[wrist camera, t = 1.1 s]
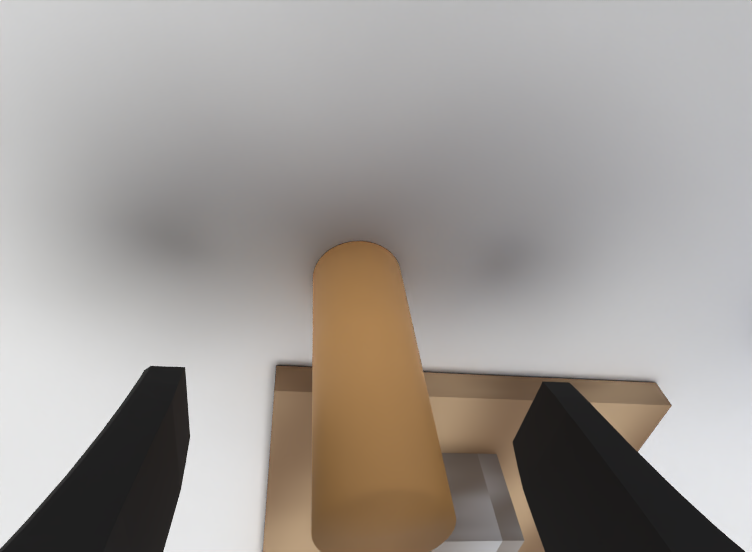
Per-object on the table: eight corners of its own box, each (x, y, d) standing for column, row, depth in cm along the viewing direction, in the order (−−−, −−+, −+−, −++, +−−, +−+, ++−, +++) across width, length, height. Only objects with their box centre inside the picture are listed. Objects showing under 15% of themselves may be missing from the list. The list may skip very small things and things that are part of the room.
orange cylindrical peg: (408, 245, 14) (472, 489, 8) (392, 314, 15) (437, 564, 9) (317, 237, 13) (319, 488, 8) (309, 308, 15) (305, 566, 9)
